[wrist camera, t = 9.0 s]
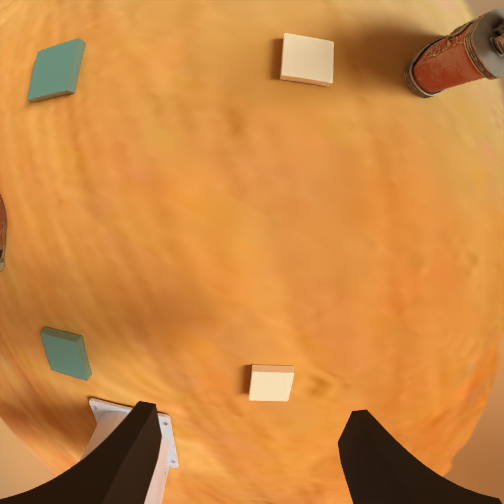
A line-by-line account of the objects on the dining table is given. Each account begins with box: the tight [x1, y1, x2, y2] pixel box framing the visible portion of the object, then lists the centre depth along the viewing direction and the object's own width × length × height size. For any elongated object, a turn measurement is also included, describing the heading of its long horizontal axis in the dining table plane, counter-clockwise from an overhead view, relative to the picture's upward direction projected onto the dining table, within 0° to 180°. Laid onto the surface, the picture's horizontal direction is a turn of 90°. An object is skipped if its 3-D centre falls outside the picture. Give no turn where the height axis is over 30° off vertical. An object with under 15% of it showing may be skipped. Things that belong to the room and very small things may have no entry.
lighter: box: [404, 9, 504, 98], centre depth 9 cm, size 8×3×10 cm, turn 133°
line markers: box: [27, 33, 334, 401], centre depth 16 cm, size 26×20×1 cm
